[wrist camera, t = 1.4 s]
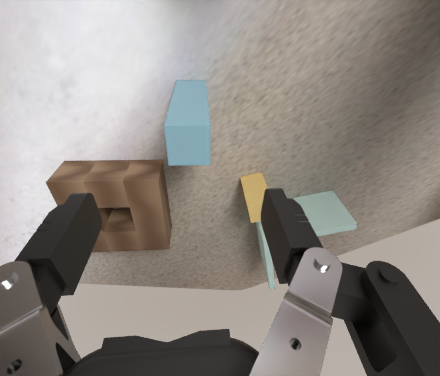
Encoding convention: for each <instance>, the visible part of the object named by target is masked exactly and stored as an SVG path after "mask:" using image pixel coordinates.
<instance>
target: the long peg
mask: <svg viewBox="0 0 440 376" xmlns="http://www.w3.org/2000/svg"><path fill="white" fill-rule="evenodd" d="M164 130H165V139H166V147H167V156H168V164H169V166H173V165H210V135H211V125H210V116H209V107H208V98H207V89H206V80H177V81H176V84H175V88H174V92H173V95H172V99H171V102H170V106H169V109H168V113H167V117H166V120H165V124H164Z"/></svg>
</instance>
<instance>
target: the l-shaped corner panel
mask: <svg viewBox="0 0 440 376" xmlns="http://www.w3.org/2000/svg"><path fill="white" fill-rule="evenodd" d="M291 199H294V200H295V201H296V202H297V203H298V204H300V205H301V207H302V209H303V211H304V212H305V215H306V216H307V218H308V220H309V222H310V224H311V226H312V228H313V229H314V231H315V233H316V235H317V237H318V236H323V235H328V234H334V233H339V232H344V231H349V230H355V229H356V227H357V223H356V221H355V220H354V219H353V217H352V216H351V215H350V213H349V212H348V211H347V209H346V208H345V207H344V205H343V204H342V202H341V201H340V200H339V198H338V197H337V196H336V194H335V193H334V192H333V190H331V191H326V192H321V193H316V194H311V195H306V196H301V197H296V198H291ZM256 227H257V233H258V240H259V246H260V253H261V257H262V261H263V265H264V269H265V273H266V276H267V280H268V284H269V288H270V289H275V281H274V272H273V263H272V257H271V254H270V251H269V247H268V244H267V241H266V238H265V234H264V231H263V228H262V224H261V221H258V222H256Z"/></svg>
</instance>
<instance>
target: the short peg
mask: <svg viewBox="0 0 440 376" xmlns="http://www.w3.org/2000/svg"><path fill="white" fill-rule="evenodd" d="M240 179H241V183H242V187H243V192H244V196H245V200H246V204H247V208H248V212H249V216H250V220H251V223H254V222H258V221H261V209H262V203H263V198H264V192H265V190H266V189H268V188H267V185H266V182H265V180H264V177H263V175H262V172H260V173H255V174H251V175H247V176H243V177H240Z"/></svg>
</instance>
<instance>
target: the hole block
mask: <svg viewBox="0 0 440 376" xmlns="http://www.w3.org/2000/svg"><path fill="white" fill-rule="evenodd" d="M46 184H47V186H48V188H49V190H50V192H51V194H52V196H53V198H54V199H55V201H56V203H57V205H63V204H64V203H65V202H66V200H67V199H68V197H69V196H70V195H71V194H72V193H92V194H93V196H94V198H95V201H96V204H97V207H98V209H99V212H100V215H101V218H102V228H101V231H100V233H99V236H98V238H97V240H96V243H95V245H94V248H93V250H92V252H110V251H134V250H158V249H169V245H170V237H171V228H172V224H171V217H170V209H169V202H168V194H167V187H166V179H165V172H164V164H163V160H111V161H64V162H63V163H62V164H61V165H60V167H59V168H58V169H57V170H56V171H55V172H54V174H53V175H52V176H51V177H50V178H49V179H48V181H47V182H46ZM119 207H130V209H113V208H119Z"/></svg>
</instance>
